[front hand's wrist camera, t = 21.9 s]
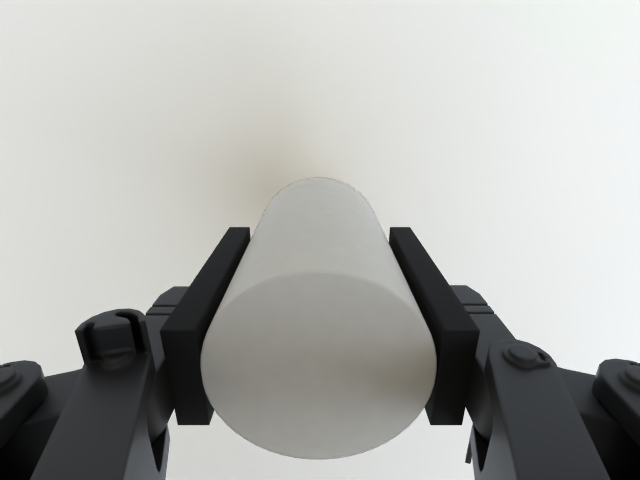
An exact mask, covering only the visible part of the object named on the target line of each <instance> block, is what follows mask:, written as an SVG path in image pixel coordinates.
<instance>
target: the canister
mask: <svg viewBox="0 0 640 480" xmlns="http://www.w3.org/2000/svg"><path fill="white" fill-rule="evenodd" d="M200 367H201V374H202V381H203V386H204V389H205V393H206V395H207V397H208V399H209V401H210V403H211V405H212V407H213V408H214V410H215V411H216V413H217V414H218V415H219V416H220V418H221V419H222V420H223V421H224V422H225V423H226V424H227V425H228V426H229V427H230V428H231V429H232V430H233V431H235V432H236V433H237V434H239V435H240V436H242V437H243V438H244V439H246V440H248V441H249V442H251V443H253V444H255V445H257V446H259V447H261V448H264V449H266V450H268V451H271V452H274V453H278V454H281V455H285V456H290V457H295V458H303V459H335V458H342V457H347V456H352V455H356V454H360V453H363V452H366V451H368V450H371V449H374V448H376V447H378V446H380V445H382V444H384V443H386V442H388V441H390V440H391V439H393V438H394V437H396V436H397V435H399V434H400V433H401V432H402V431H404V430H405V429H406V428H407V427H408V426H409V425H410V424H411V423H412V422H413V421H414V420H415V419H416V418H417V417H418V415H419V414H420V413H421V411H422V410H423V408H424V407H425V405H426V403H427V401H428V399H429V398H430V395H431V393H432V390H433V387H434V383H435V378H436V372H437V356H436V350H435V345H434V342H433V339H432V336H431V333H430V331H429V329H428V327H427V324H426V322H425V320H424V318H423V316H422V314H421V312H420V309H419V307H418V305H417V303H416V301H415V299H414V297H413V294H412V292H411V290H410V288H409V286H408V284H407V281H406V279H405V277H404V275H403V273H402V271H401V269H400V266H399V264H398V262H397V260H396V258H395V256H394V254H393V251H392V249H391V247H390V245H389V243H388V241H387V239H386V236H385V234H384V232H383V230H382V228H381V226H380V224H379V221H378V219H377V217H376V215H375V213H374V211H373V209H372V207H371V205H370V204H369V202H368V201H367V200H366V198H365V197H364V196H363V195H362V194H361V193H360V192H358V191H357V190H356V189H355V188H353V187H351V186H350V185H348V184H346V183H344V182H341V181H338V180H335V179H330V178H320V177H315V178H307V179H303V180H299V181H297V182H294V183H292V184H290V185H288V186H287V187H285V188H284V189H282V190H281V191H280V192H278V193H277V194H276V195H275V196H274V197H273V199H272V200H271V201H270V202H269V204H268V206H267V207H266V209H265V211H264V213H263V215H262V217H261V219H260V221H259V224H258V226H257V228H256V230H255V232H254V234H253V236H252V238H251V240H250V242H249V245H248V247H247V249H246V251H245V253H244V255H243V257H242V259H241V261H240V264H239V266H238V268H237V270H236V272H235V274H234V276H233V278H232V280H231V282H230V285H229V287H228V289H227V291H226V293H225V295H224V297H223V299H222V301H221V303H220V306H219V308H218V310H217V312H216V314H215V316H214V318H213V320H212V322H211V324H210V327H209V329H208V331H207V334H206V336H205V339H204V341H203V346H202V350H201V358H200Z"/></svg>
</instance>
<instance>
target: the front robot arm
mask: <svg viewBox="0 0 640 480" xmlns="http://www.w3.org/2000/svg"><path fill="white" fill-rule="evenodd" d="M249 242H250V227H230V228H229V229H228V231H227V232H226V233H225V235H224V236H223V238H222V239H221V241H220V242H219V244H218V245H217V247H216V248H215V250H214V251H213V253H212V254H211V256H210V257H209V259H208V260H207V261H206V263H205V264H204V266H203V267H202V269H201V270H200V272H199V273H198V275H197V276H196V278H195V279H194V281H193V282H192V284H191V285H190V287H172V288H171V289H169V290H168V291H166V292H164V293H163V294H161V295H160V296H159V297H158V299H157V300H156V301H155V302H154V304H153V305H152V307H150V309H149V310H148V311H147V313H146V316H145V315H144V314H143V313H141V312H140V311H138V310H134V309H116V310H112V311H107V312H104V313H101V314H98V315H96V316H93V317H91V318H90V319H88V320H86V321H85V322H83V323H82V324H81V325H80V326H79V327H78V328H77V329H76V330H75V334H76V337H77V340H78V344H79V347H80V350H81V354H82V357H83V360H84V366H83V368H82V369H79V370H76V371H71V372H66V373H62V374H57V375H52V376H47V377H44V374H43V371H42V368H41V366H40V365H39V364H37V363H36V362H33V361H25V360H24V361H17V362H10V363H6V364H3V365H0V480H165V477H166V468H167V460H168V452H169V443H170V436H169V430H168V425H167V423H168V421H169V419H170V417H171V414H172V412H173V410H174V408H175V413H176V418H177V423H178V425H209V424H210V421H211V418H212V415H213V412H214V408H213V407H212V405H211V403H210V401H209V399H208V397H207V395H206V393H205V389H204V386H203V381H202V374H201V367H200V358H201V350H202V346H203V341H204V339H205V336H206V334H207V331H208V329H209V327H210V324H211V322H212V320H213V318H214V316H215V314H216V312H217V310H218V308H219V306H220V303H221V301H222V299H223V297H224V295H225V293H226V291H227V289H228V287H229V285H230V282H231V280H232V278H233V276H234V274H235V272H236V270H237V268H238V266H239V264H240V261H241V259H242V257H243V255H244V253H245V251H246V249H247V247H248V245H249ZM389 245H390V247H391V249H392V251H393V254H394V256H395V258H396V260H397V262H398V264H399V266H400V269H401V271H402V273H403V275H404V277H405V279H406V281H407V284H408V286H409V288H410V290H411V292H412V294H413V297H414V299H415V301H416V303H417V305H418V307H419V309H420V312H421V314H422V316H423V318H424V320H425V322H426V324H427V327H428V329H429V331H430V333H431V336H432V339H433V342H434V345H435V350H436V356H437V372H436V378H435V383H434V387H433V390H432V393H431V395H430V398H429V399H428V401H427V403H426V405H425V410H426V413H427V416H428V419H429V422H430V425H462V422H463V417H464V411H465V407H466V409H467V411H468V413H469V415H470V417H471V420H472V422H473V425H472V430H471V435H470V440H469V444H468V449H467V454H466V461H465V463H469V464H470V463H471V458H472V459H473V467H474V476H475V480H640V363H637V362H633V361H629V360H621V359H610V360H605V361H603V362H602V363H601V364H600V365H599V367H598V370H597V373H596V375H591V374H586V373H581V372H577V371H572V370H567V369H563V368H559V367H557V365H556V363H555V362H554V360H553V359H552V358H551V356H550V355H549V354H547V353H546V352H545V351H543V350H542V349H540V348H539V347H536V346H534V345H532V344H530V343H528V342H524V341H520V340H516V339H515V337H514V336H513V335H512V334H511V333H510V331H509V330H508V329H507V328H506V326H505V325H504V324H503V323H502V321H501V320H500V319H499V318H498V316H497V315H496V314H494V311H493V310H492V309H491V308H490V306H488V305H487V303H486V301H485V300H484V299H483V298H482V296H481V295H480V294H479V293H477V292H476V291H474V290H473V289H471V288H469V287H468V286H466V285H449V284H448V283H447V281H446V280H445V278H444V277H443V275H442V274H441V272H440V271H439V269H438V268H437V266H436V265H435V263H434V262H433V260H432V259H431V258H430V256H429V255H428V253H427V252H426V250H425V249H424V247H423V246H422V244H421V243H420V241H419V240H418V238H417V237H416V235H415V234H414V233H413V231H412V230H411V228H410V227H390V235H389Z"/></svg>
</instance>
